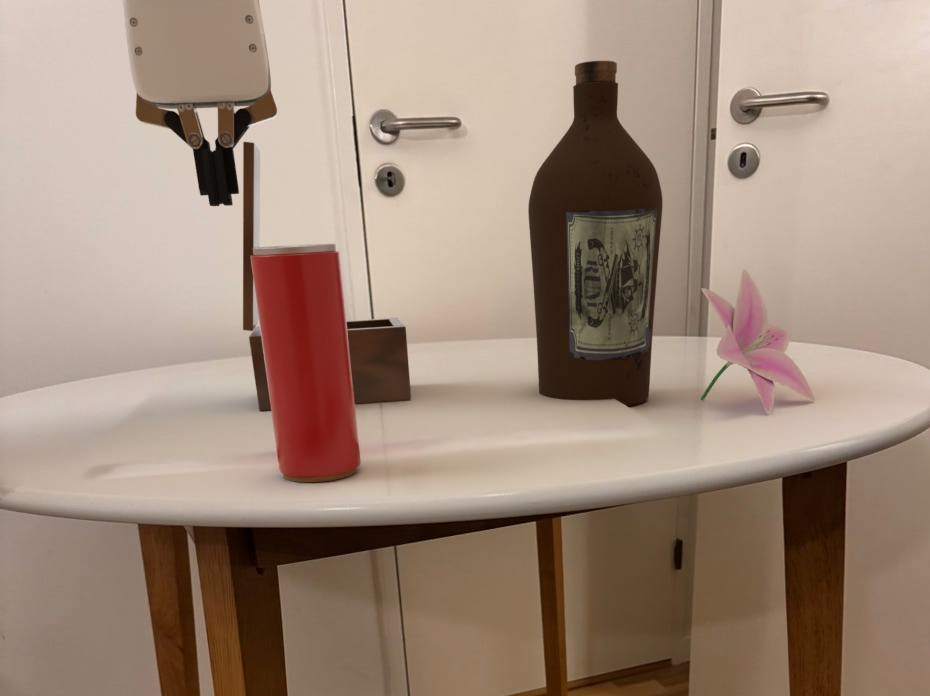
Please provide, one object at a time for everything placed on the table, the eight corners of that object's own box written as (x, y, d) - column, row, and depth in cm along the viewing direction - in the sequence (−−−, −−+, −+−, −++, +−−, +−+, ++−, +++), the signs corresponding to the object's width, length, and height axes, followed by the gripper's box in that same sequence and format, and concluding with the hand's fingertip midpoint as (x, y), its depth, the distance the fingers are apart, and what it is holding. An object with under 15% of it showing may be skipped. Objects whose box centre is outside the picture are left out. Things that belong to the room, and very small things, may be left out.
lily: (687, 436, 71) (758, 321, 65) (627, 356, 78) (686, 248, 73) (799, 463, 77) (874, 360, 71) (734, 386, 84) (797, 288, 78)
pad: (282, 485, 59) (281, 479, 59) (284, 467, 63) (283, 461, 63) (358, 478, 60) (357, 472, 59) (355, 461, 64) (354, 455, 64)
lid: (260, 150, 78) (250, 149, 78) (254, 142, 70) (243, 141, 70) (258, 321, 83) (249, 320, 83) (252, 331, 76) (242, 330, 75)
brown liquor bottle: (518, 395, 84) (509, 75, 74) (628, 385, 86) (635, 72, 76) (553, 416, 75) (549, 52, 65) (676, 405, 77) (691, 50, 67)
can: (277, 480, 58) (246, 249, 53) (280, 460, 63) (252, 247, 58) (362, 473, 59) (339, 244, 54) (359, 454, 64) (337, 242, 58)
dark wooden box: (403, 394, 88) (397, 317, 85) (412, 410, 80) (405, 326, 77) (265, 404, 86) (254, 326, 83) (260, 422, 78) (248, 336, 76)
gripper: (286, -60, 72) (314, 202, 80) (85, -58, 70) (134, 210, 78) (283, -90, 65) (314, 200, 73) (60, -88, 63) (116, 209, 71)
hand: (221, 204), depth 75 cm, fingers closed
